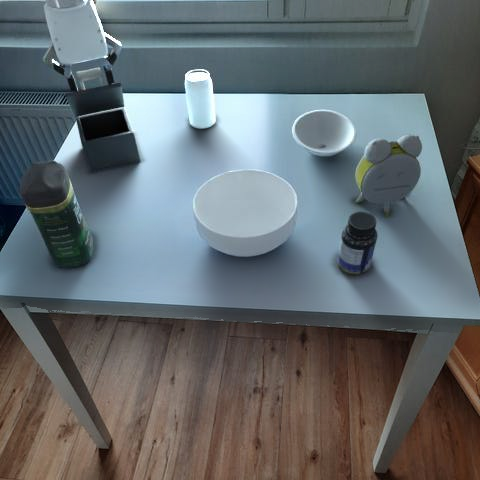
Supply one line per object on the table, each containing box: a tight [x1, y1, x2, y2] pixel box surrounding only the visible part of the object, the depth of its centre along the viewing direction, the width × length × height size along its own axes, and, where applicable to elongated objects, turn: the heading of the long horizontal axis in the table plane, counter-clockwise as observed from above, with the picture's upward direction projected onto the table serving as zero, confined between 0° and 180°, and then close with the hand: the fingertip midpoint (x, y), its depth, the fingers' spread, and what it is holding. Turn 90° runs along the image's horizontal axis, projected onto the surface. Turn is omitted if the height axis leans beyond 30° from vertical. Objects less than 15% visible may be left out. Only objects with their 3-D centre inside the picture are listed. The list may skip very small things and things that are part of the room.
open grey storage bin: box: [75, 106, 141, 173], centre depth 110 cm, size 12×12×8 cm
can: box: [184, 69, 216, 129], centre depth 115 cm, size 6×6×12 cm
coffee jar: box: [19, 160, 94, 269], centre depth 86 cm, size 10×8×19 cm
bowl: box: [192, 168, 299, 258], centre depth 91 cm, size 20×20×8 cm
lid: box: [64, 67, 126, 118], centre depth 103 cm, size 12×12×5 cm
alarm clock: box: [354, 134, 423, 216], centre depth 92 cm, size 12×7×15 cm, turn 99°
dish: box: [291, 109, 357, 157], centre depth 108 cm, size 18×14×5 cm
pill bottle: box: [336, 210, 379, 276], centre depth 84 cm, size 6×6×11 cm
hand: (93, 89), depth 101 cm, fingers open, 6 cm apart
